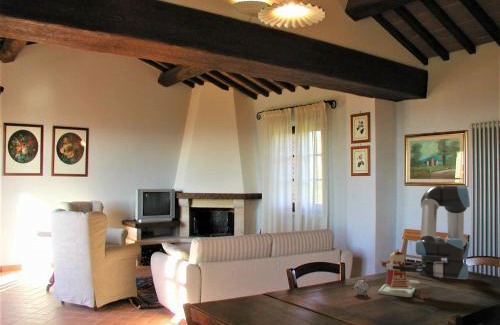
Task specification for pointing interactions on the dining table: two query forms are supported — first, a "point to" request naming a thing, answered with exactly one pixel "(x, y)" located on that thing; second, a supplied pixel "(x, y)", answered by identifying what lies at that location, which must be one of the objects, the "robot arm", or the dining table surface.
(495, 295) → the dining table surface
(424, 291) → the walnut brick
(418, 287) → the maple brick
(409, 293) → the tray
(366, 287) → the game die
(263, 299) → the dining table surface
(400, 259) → the milk carton
